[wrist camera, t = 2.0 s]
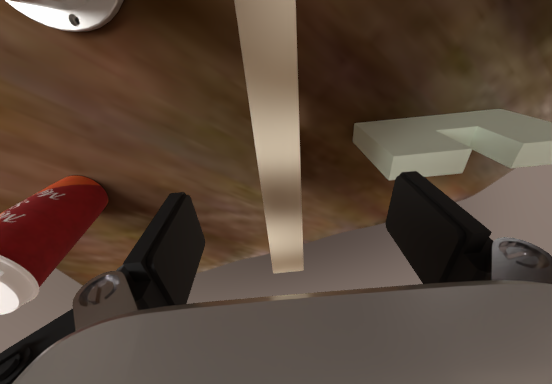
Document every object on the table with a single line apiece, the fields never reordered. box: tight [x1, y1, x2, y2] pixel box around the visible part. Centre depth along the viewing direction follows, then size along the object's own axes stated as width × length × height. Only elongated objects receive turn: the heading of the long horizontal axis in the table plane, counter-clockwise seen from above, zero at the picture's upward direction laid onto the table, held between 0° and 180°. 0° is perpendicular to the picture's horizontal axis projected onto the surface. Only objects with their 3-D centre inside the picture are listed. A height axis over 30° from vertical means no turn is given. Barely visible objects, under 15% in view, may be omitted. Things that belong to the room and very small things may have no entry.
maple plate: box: [234, 0, 304, 273], centre depth 20 cm, size 18×2×16 cm, turn 5°
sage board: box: [353, 109, 552, 180], centre depth 24 cm, size 2×18×10 cm, turn 95°
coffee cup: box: [0, 175, 108, 315], centre depth 25 cm, size 8×8×15 cm
